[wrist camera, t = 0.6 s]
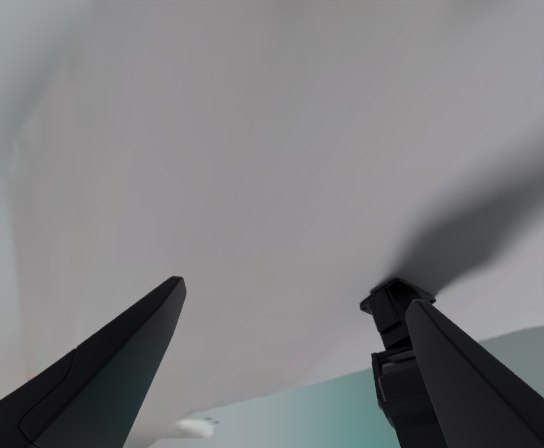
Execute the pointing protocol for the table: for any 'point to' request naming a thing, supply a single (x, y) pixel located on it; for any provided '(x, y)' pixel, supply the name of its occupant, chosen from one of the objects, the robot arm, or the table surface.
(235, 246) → the table surface
